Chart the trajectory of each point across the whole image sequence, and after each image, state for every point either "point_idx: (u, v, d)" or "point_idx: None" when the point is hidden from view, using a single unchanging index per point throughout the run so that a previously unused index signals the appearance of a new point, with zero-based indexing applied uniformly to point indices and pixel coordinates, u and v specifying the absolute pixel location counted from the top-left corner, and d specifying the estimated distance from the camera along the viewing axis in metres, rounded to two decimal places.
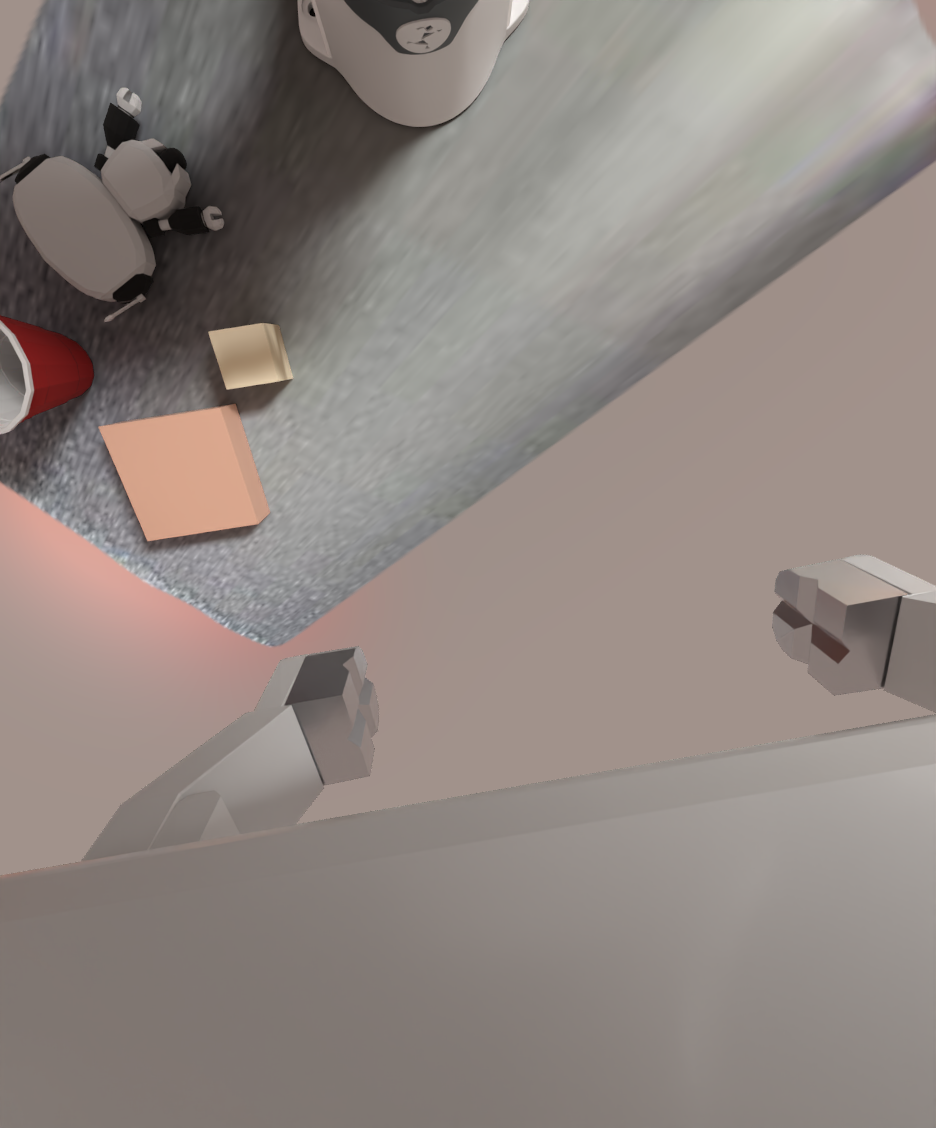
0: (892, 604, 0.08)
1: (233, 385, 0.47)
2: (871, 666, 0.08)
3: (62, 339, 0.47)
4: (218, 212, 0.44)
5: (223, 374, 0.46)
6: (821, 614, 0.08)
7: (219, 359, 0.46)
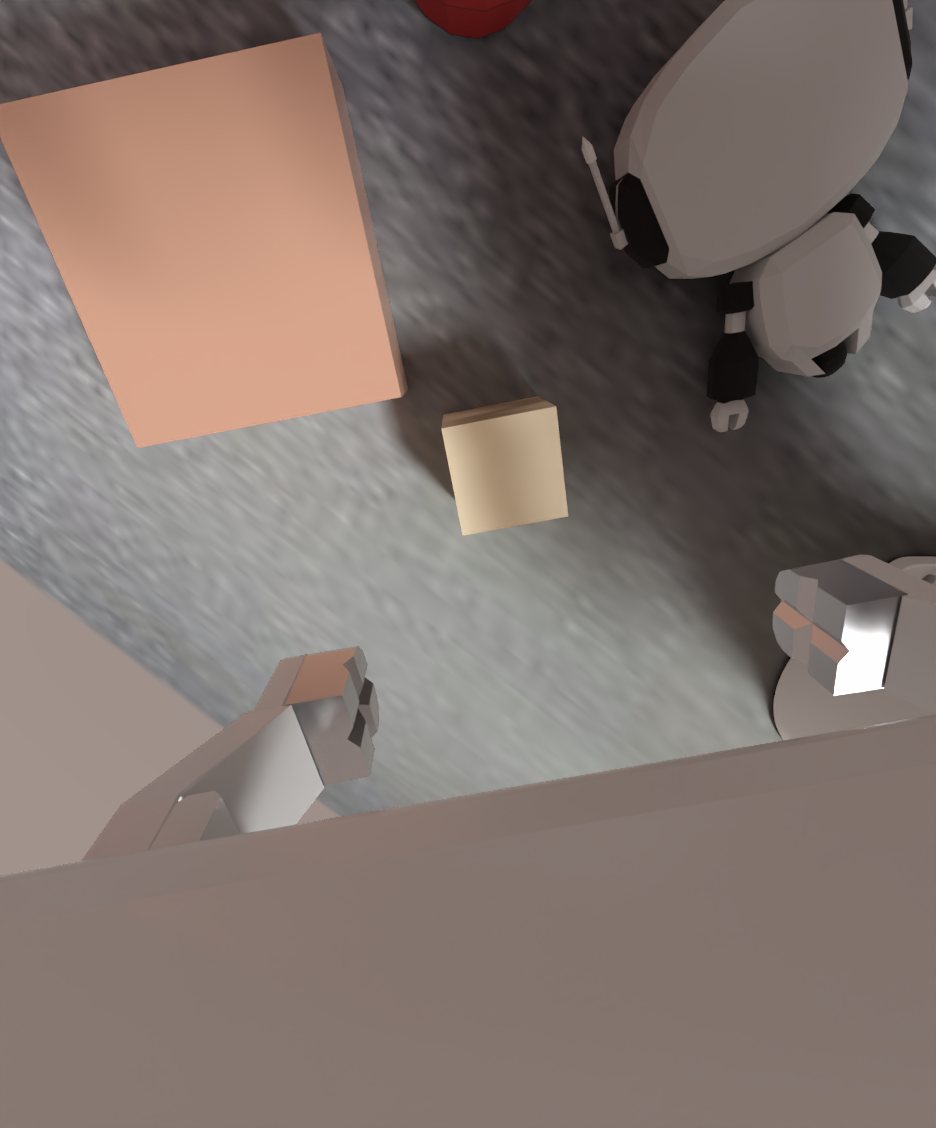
0: (892, 604, 0.08)
1: (451, 443, 0.22)
2: (871, 666, 0.08)
3: None
4: (736, 427, 0.25)
5: (472, 426, 0.22)
6: (821, 614, 0.08)
7: (502, 422, 0.22)
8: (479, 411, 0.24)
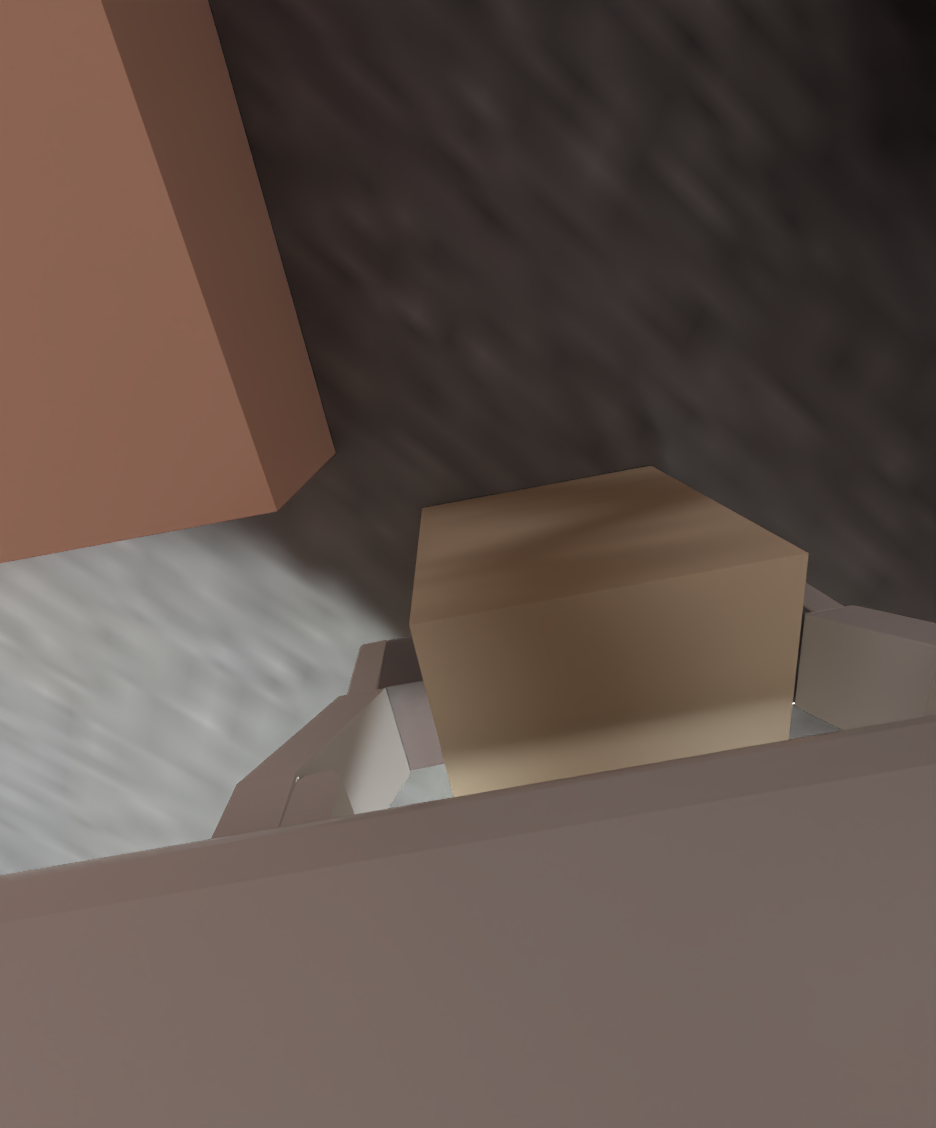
0: None
1: (444, 667, 0.07)
2: None
3: None
4: None
5: (515, 617, 0.06)
6: None
7: (617, 603, 0.06)
8: (517, 518, 0.09)
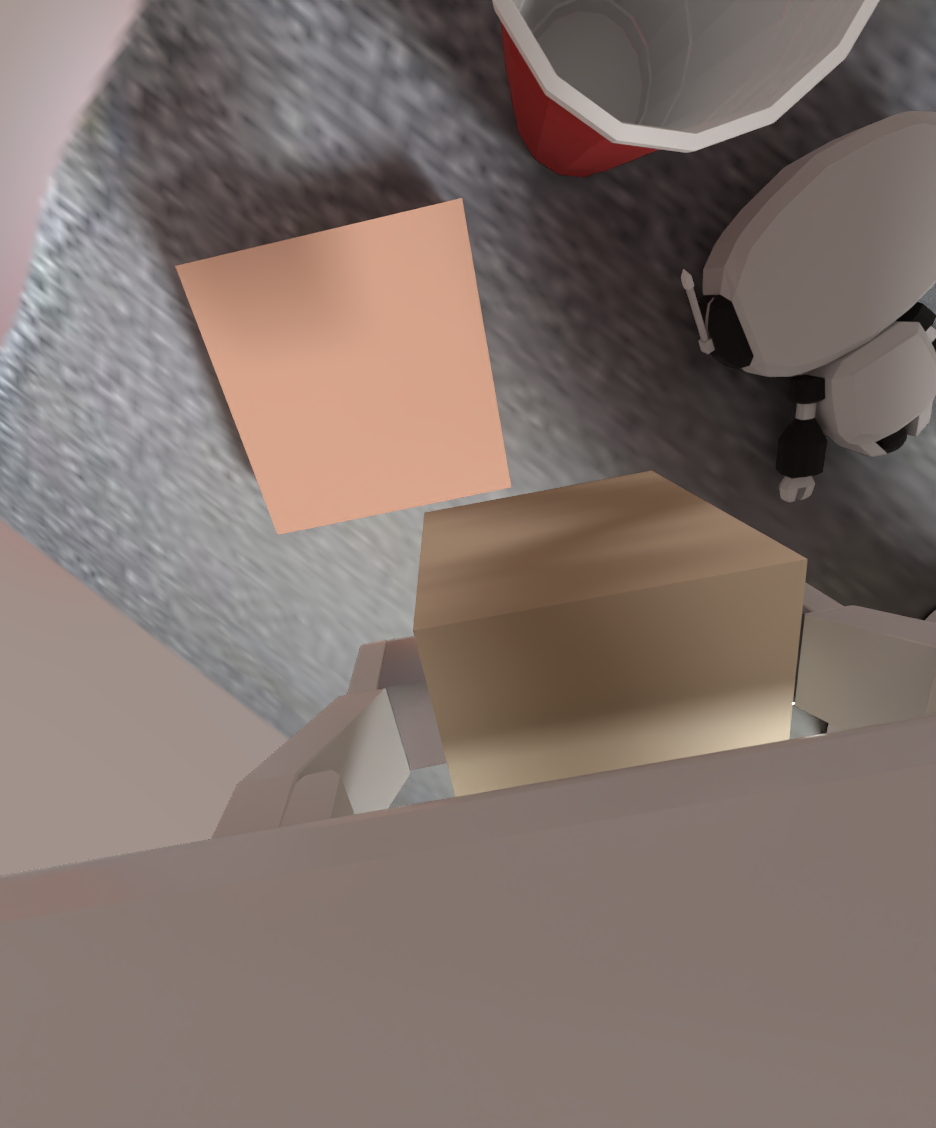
0: None
1: (447, 672, 0.07)
2: None
3: None
4: (803, 497, 0.27)
5: (518, 622, 0.06)
6: None
7: (619, 608, 0.06)
8: (519, 523, 0.09)
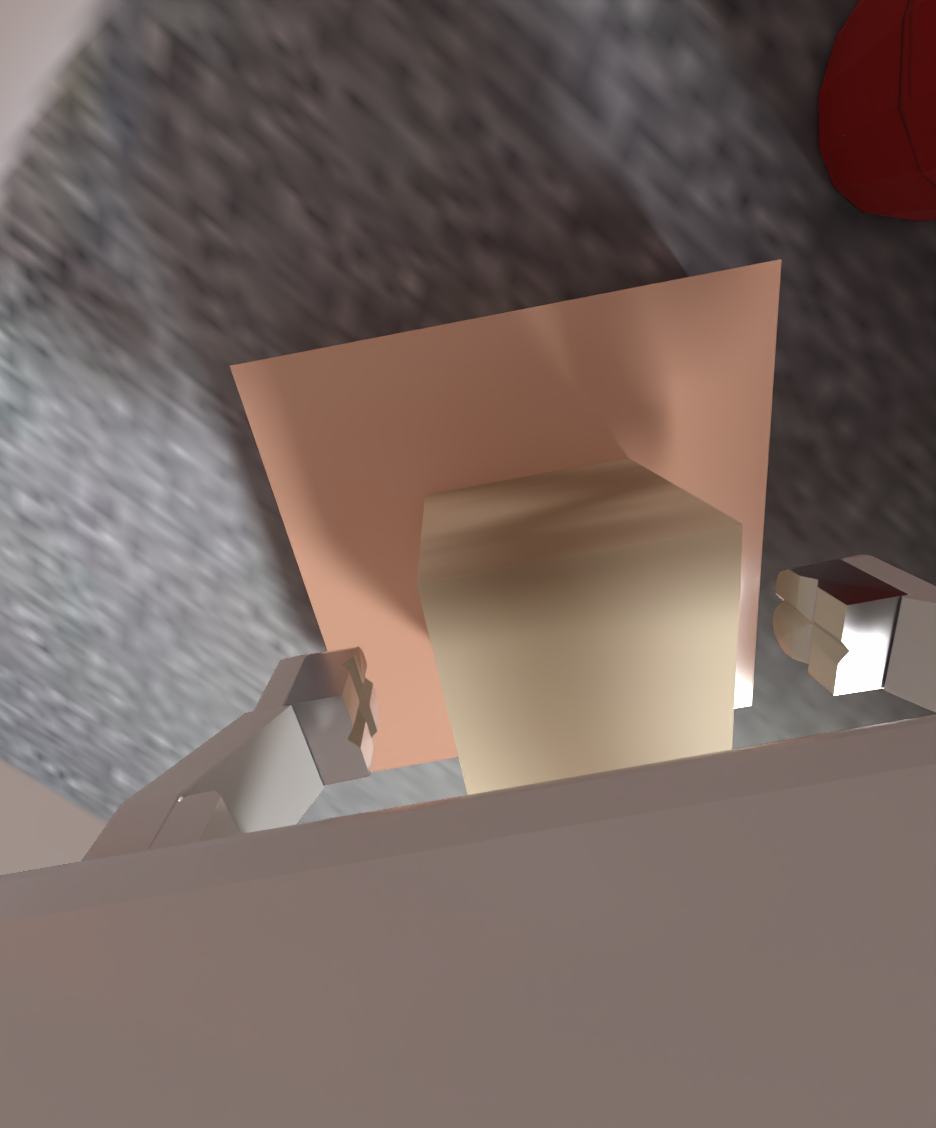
0: (891, 605, 0.08)
1: (445, 620, 0.08)
2: (871, 666, 0.08)
3: None
4: None
5: (503, 577, 0.08)
6: (821, 614, 0.08)
7: (587, 566, 0.08)
8: (508, 502, 0.11)
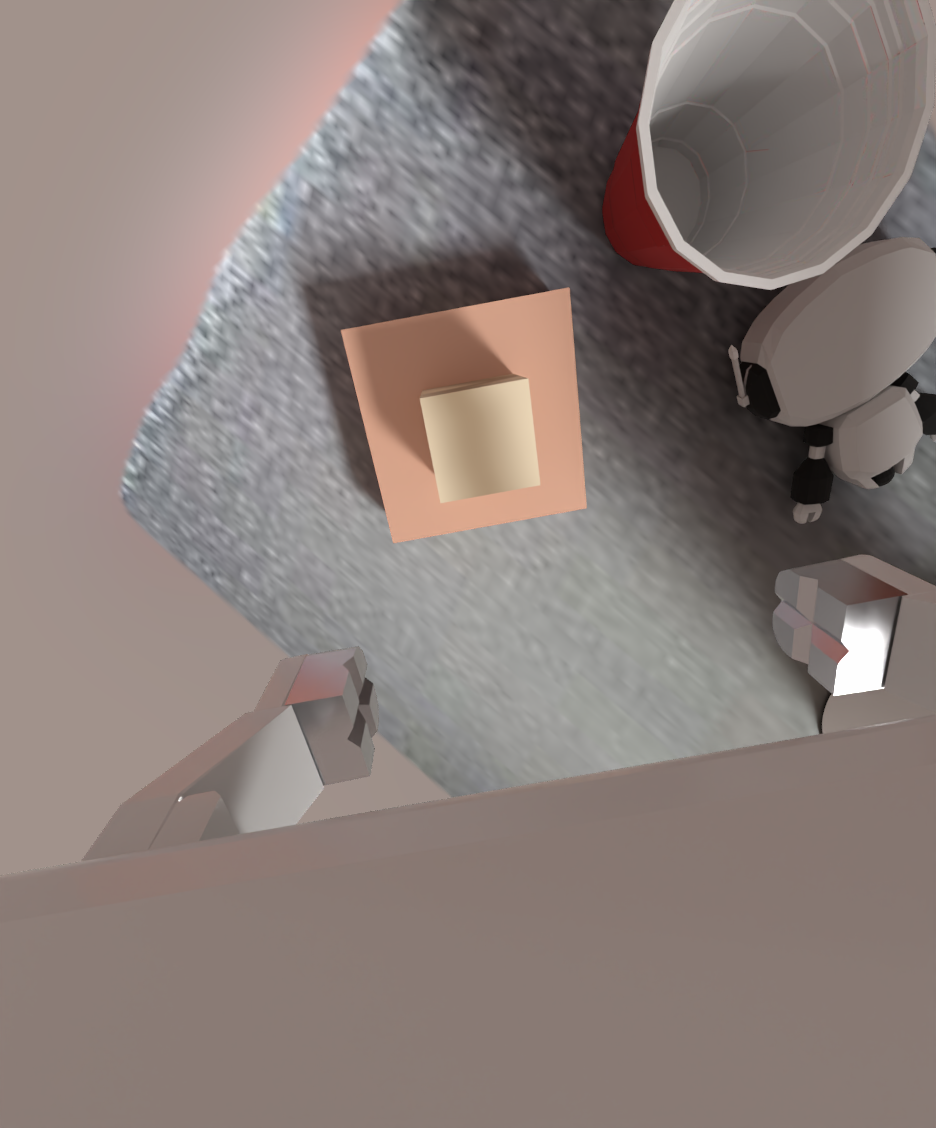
0: (891, 605, 0.08)
1: (429, 413, 0.23)
2: (871, 666, 0.08)
3: None
4: (812, 520, 0.34)
5: (449, 396, 0.23)
6: (821, 614, 0.08)
7: (477, 393, 0.23)
8: (456, 386, 0.26)
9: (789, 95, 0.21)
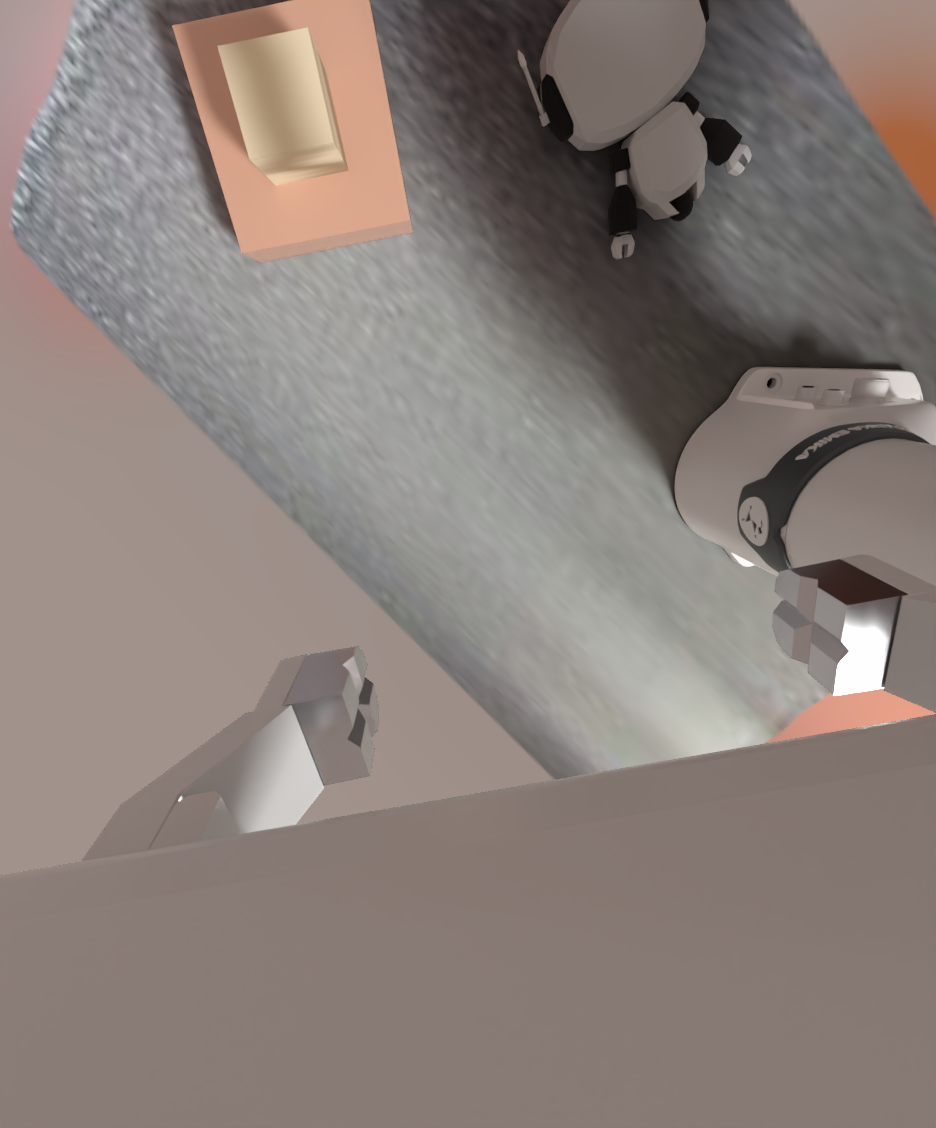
0: (891, 605, 0.08)
1: (227, 62, 0.27)
2: (871, 666, 0.08)
3: None
4: (628, 255, 0.38)
5: (242, 44, 0.27)
6: (821, 614, 0.08)
7: (266, 41, 0.27)
8: None
9: None
